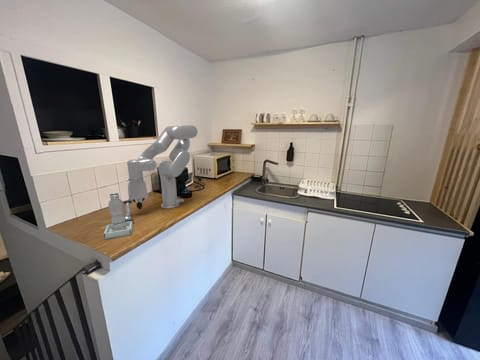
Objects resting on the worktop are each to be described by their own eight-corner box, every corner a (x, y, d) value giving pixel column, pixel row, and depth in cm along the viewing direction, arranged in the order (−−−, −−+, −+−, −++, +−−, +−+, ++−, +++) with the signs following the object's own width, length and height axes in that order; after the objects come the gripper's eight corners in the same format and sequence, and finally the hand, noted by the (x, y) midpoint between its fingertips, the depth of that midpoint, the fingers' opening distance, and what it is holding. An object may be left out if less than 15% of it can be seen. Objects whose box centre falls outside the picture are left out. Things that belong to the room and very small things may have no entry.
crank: (131, 220, 112) (129, 207, 110) (122, 222, 110) (120, 209, 108) (133, 211, 124) (131, 199, 122) (124, 212, 123) (123, 201, 121)
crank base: (134, 220, 117) (133, 217, 117) (133, 225, 112) (133, 221, 111) (101, 225, 111) (101, 222, 110) (99, 230, 105) (98, 227, 105)
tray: (132, 225, 111) (132, 221, 110) (131, 234, 101) (130, 229, 100) (108, 230, 106) (107, 224, 105) (104, 239, 97) (103, 234, 96)
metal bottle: (116, 227, 107) (110, 192, 102) (129, 227, 107) (124, 192, 102) (109, 234, 100) (103, 196, 95) (123, 233, 101) (117, 196, 96)
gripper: (121, 182, 114) (125, 212, 118) (150, 180, 120) (153, 208, 124) (123, 179, 120) (126, 208, 125) (149, 177, 126) (152, 204, 131)
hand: (139, 208), depth 124 cm, fingers closed
